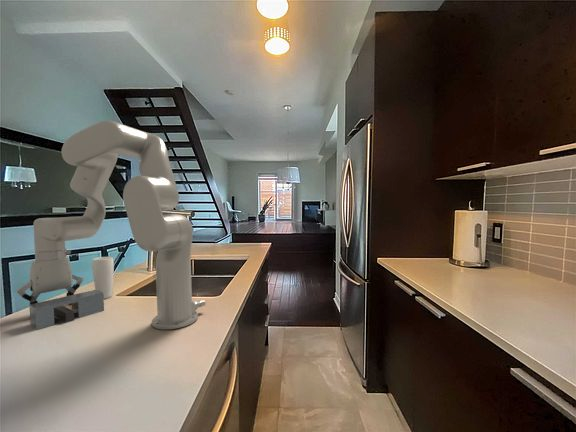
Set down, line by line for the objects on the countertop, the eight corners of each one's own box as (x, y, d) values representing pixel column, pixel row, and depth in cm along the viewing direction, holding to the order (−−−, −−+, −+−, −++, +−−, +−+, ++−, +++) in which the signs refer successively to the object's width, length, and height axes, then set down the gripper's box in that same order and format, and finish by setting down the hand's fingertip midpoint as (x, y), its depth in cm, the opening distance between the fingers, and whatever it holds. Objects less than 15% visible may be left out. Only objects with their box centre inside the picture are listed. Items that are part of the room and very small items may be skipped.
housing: (96, 306, 95) (95, 289, 95) (104, 310, 91) (103, 292, 91) (30, 324, 81) (29, 304, 81) (36, 329, 78) (35, 308, 77)
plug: (56, 309, 93) (55, 297, 93) (78, 319, 85) (77, 306, 84) (41, 313, 90) (40, 301, 90) (62, 324, 81) (61, 310, 81)
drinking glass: (112, 298, 103) (111, 259, 102) (91, 301, 101) (89, 260, 100) (116, 293, 109) (115, 256, 109) (96, 296, 107) (94, 257, 106)
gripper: (78, 251, 99) (80, 299, 99) (10, 259, 85) (13, 315, 85) (86, 252, 95) (89, 303, 95) (16, 261, 80) (19, 320, 81)
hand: (53, 308), depth 90 cm, fingers open, 8 cm apart
